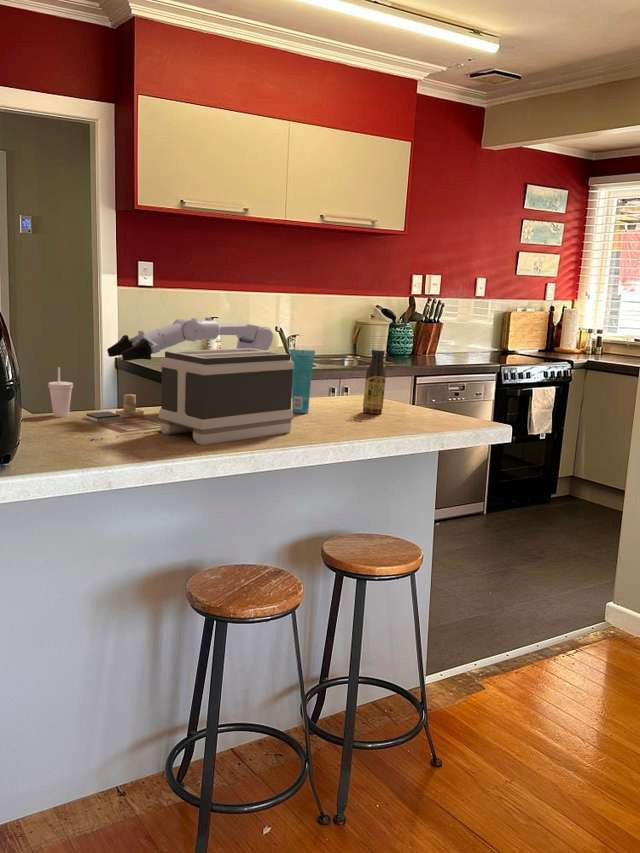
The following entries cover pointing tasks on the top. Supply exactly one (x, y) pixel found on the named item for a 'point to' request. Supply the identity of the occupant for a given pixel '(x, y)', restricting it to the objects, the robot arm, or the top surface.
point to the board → (130, 424)
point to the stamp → (130, 408)
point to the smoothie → (60, 397)
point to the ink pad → (103, 417)
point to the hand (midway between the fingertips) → (115, 355)
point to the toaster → (226, 394)
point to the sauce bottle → (375, 384)
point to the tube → (301, 379)
